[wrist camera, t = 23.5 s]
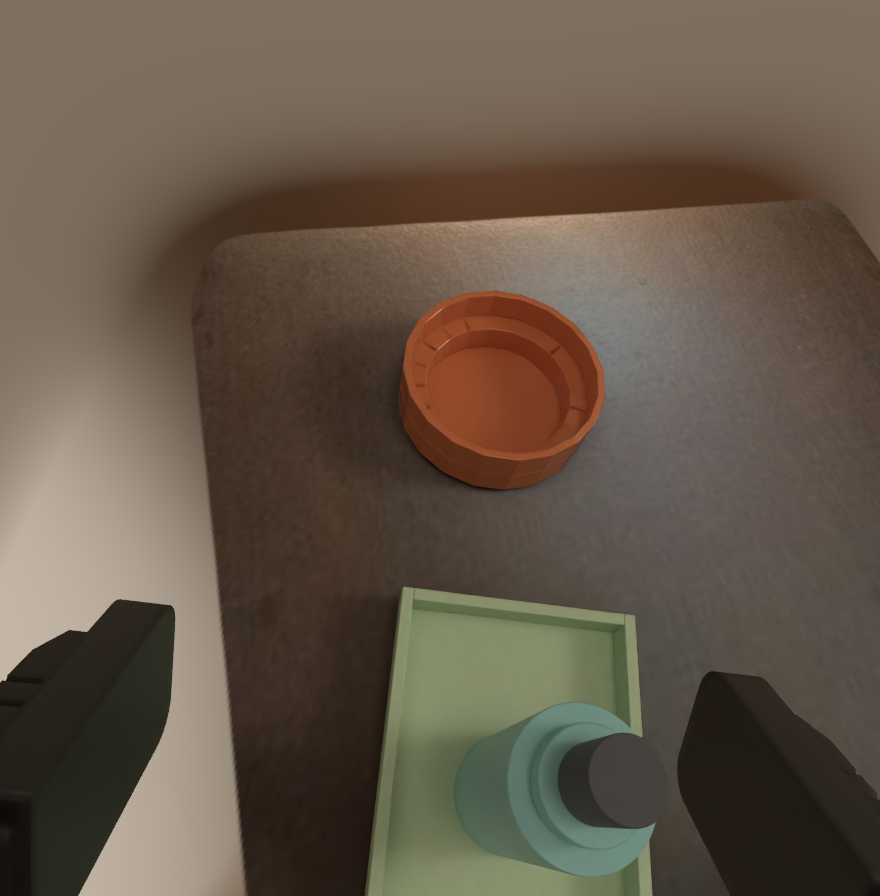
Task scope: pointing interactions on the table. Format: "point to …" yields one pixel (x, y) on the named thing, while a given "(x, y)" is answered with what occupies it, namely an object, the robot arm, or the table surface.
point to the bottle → (564, 791)
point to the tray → (485, 733)
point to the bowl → (499, 389)
